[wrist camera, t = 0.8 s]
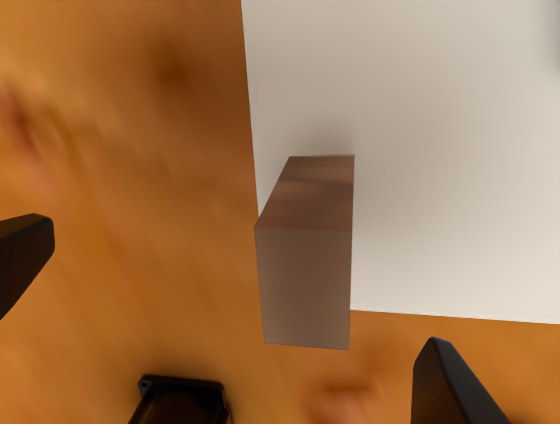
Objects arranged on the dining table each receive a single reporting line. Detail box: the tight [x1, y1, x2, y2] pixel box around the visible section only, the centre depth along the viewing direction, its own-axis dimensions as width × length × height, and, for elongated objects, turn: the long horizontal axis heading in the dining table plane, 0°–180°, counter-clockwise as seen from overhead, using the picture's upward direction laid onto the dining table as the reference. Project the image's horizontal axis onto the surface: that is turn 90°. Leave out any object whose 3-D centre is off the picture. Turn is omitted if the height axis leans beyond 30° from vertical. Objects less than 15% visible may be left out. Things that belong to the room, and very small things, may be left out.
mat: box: [241, 0, 560, 324], centre depth 20 cm, size 18×18×1 cm
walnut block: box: [254, 154, 355, 350], centre depth 18 cm, size 3×5×8 cm, turn 3°
